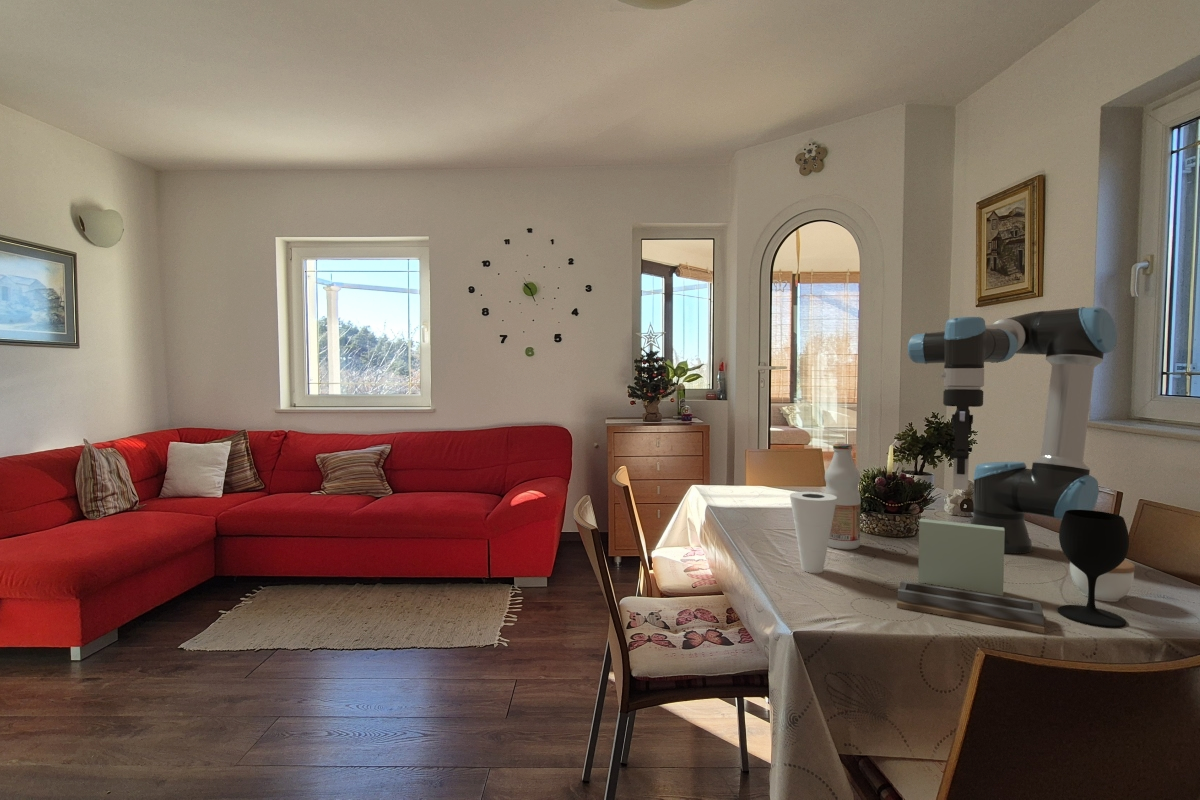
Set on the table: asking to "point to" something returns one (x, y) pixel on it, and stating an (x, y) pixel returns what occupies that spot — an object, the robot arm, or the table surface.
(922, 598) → the door track
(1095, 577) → the wine glass
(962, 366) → the robot arm
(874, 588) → the table surface
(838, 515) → the fruit juice
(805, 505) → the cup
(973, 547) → the door panel
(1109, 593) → the lidded jar
